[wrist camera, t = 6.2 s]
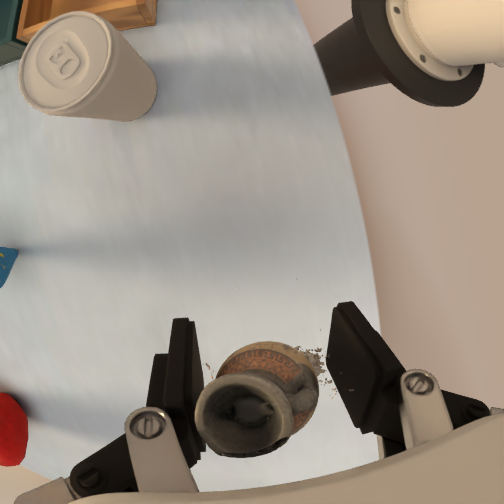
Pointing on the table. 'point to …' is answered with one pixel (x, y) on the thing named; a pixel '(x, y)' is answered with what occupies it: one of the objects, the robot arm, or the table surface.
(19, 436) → the apple
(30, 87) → the beverage can
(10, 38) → the can bin
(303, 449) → the table surface
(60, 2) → the bin
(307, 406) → the vase
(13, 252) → the ornament
